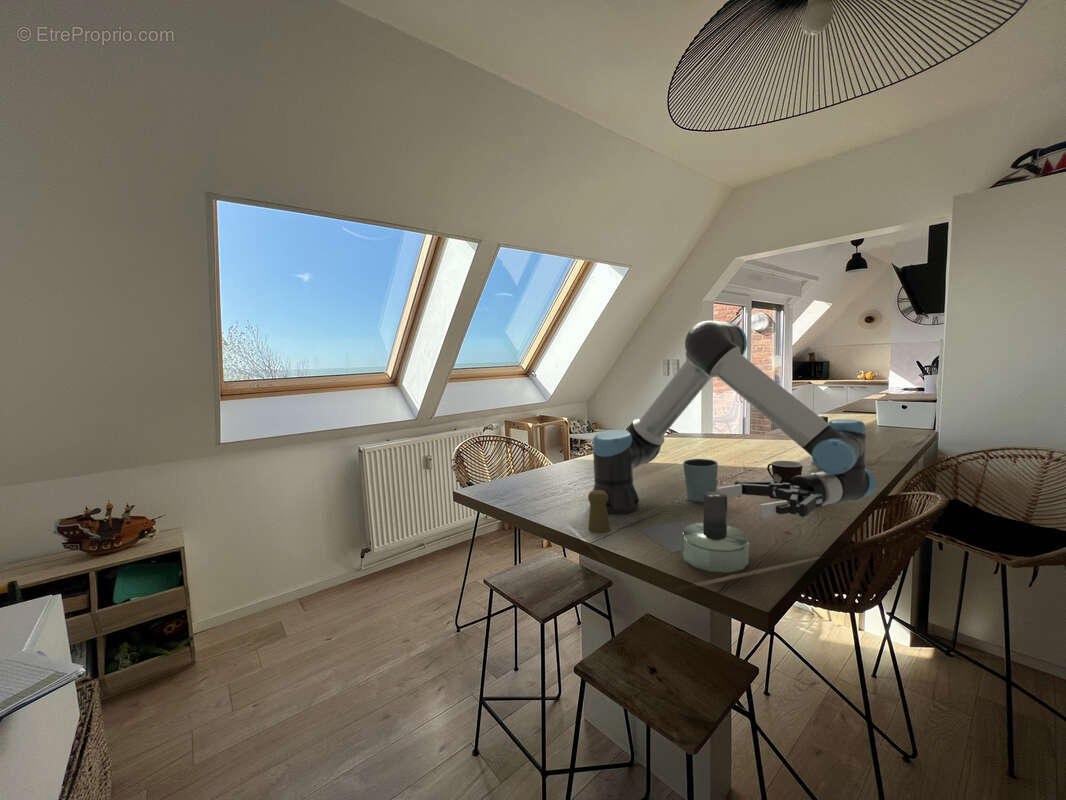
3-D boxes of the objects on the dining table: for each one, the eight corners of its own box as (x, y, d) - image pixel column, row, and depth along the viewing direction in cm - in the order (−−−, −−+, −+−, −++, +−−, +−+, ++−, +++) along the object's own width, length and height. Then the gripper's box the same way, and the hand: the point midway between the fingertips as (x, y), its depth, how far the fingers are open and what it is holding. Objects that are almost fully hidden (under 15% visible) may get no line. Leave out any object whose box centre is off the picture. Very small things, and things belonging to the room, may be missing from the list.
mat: (636, 531, 119) (636, 528, 119) (688, 522, 124) (688, 519, 124) (671, 555, 104) (671, 552, 104) (729, 543, 108) (729, 541, 108)
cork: (585, 527, 123) (584, 488, 122) (607, 526, 124) (606, 487, 123) (590, 536, 117) (588, 495, 116) (613, 534, 118) (611, 493, 117)
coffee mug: (807, 499, 137) (807, 466, 136) (776, 498, 139) (776, 467, 138) (793, 488, 148) (793, 458, 148) (765, 487, 150) (764, 458, 149)
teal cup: (725, 502, 138) (724, 463, 137) (696, 506, 136) (695, 467, 135) (705, 493, 148) (704, 457, 147) (677, 496, 146) (676, 460, 145)
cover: (671, 551, 104) (671, 489, 103) (719, 542, 108) (720, 482, 106) (708, 579, 92) (709, 510, 90) (761, 568, 96) (763, 501, 94)
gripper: (865, 522, 94) (783, 538, 89) (772, 491, 118) (703, 502, 113) (865, 487, 94) (783, 501, 88) (772, 463, 118) (702, 472, 112)
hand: (738, 501), depth 100 cm, fingers open, 13 cm apart
